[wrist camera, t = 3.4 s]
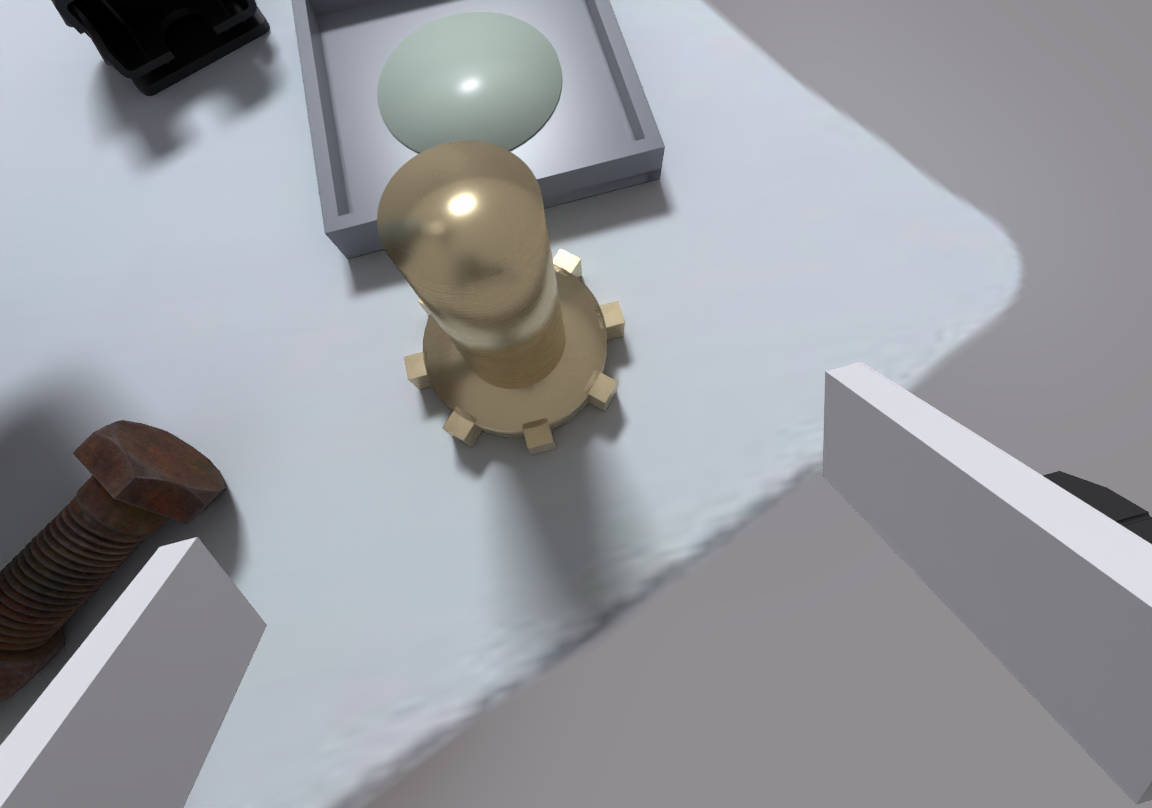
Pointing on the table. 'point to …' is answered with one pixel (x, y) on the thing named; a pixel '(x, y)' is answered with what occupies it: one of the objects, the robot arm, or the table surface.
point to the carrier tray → (468, 97)
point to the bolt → (96, 537)
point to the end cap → (163, 34)
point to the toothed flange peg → (495, 296)
